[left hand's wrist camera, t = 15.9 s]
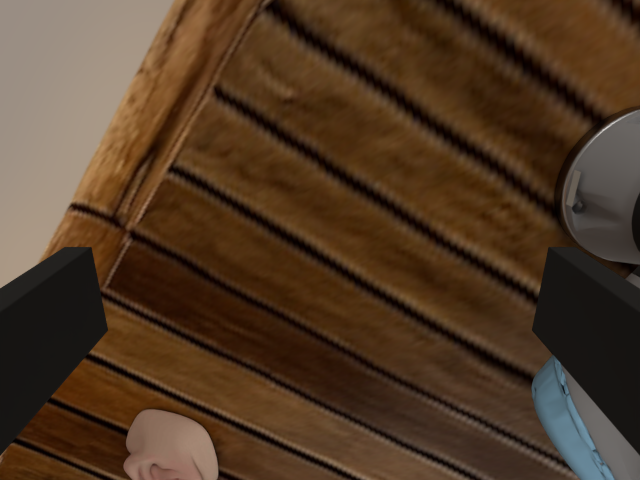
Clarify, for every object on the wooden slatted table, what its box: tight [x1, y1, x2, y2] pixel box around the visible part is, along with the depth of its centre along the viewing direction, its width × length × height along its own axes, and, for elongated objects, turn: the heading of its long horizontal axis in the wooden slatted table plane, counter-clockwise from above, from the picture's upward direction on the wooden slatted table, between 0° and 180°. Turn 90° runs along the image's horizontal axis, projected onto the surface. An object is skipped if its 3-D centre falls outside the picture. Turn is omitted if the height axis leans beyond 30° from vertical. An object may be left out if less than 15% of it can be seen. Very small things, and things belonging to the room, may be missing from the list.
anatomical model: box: [124, 409, 218, 480], centre depth 52 cm, size 13×4×12 cm
